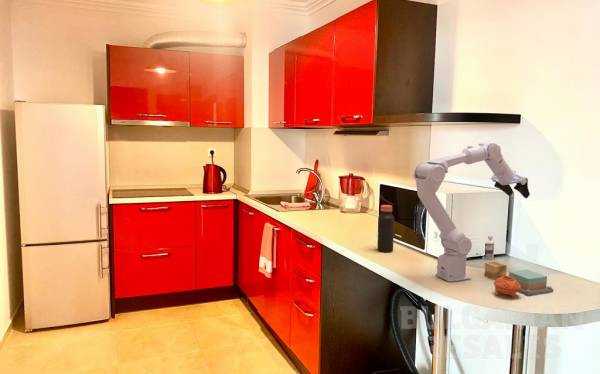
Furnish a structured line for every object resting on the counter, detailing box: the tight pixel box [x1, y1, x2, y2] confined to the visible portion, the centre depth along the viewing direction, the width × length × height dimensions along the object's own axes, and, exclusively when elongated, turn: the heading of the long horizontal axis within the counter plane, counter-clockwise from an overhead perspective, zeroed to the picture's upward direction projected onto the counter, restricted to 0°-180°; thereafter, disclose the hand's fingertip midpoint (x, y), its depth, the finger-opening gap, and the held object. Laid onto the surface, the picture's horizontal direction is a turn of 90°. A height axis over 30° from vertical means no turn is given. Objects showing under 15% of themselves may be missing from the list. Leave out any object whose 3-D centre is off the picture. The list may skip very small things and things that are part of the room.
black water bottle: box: [376, 204, 395, 253], centre depth 198 cm, size 7×7×20 cm
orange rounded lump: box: [493, 275, 521, 299], centre depth 147 cm, size 8×8×7 cm
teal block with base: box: [508, 269, 554, 297], centre depth 153 cm, size 11×11×5 cm
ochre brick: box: [484, 261, 508, 281], centre depth 164 cm, size 5×5×5 cm
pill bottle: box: [481, 235, 495, 260], centre depth 189 cm, size 5×5×10 cm
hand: (519, 195), depth 170 cm, fingers open, 7 cm apart
